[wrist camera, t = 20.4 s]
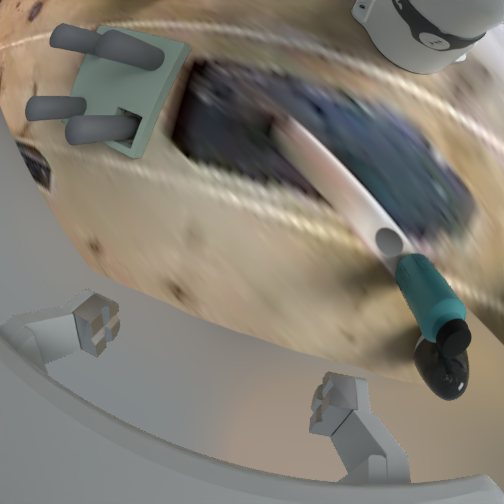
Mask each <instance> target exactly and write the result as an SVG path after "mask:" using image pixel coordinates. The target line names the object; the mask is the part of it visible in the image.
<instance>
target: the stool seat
mask: <svg viewBox="0 0 504 504" xmlns="http://www.w3.org/2000/svg"><path fill="white" fill-rule="evenodd" d="M50 46H51V47H53V48H60V49H65V50H71V51H76V52H81V53H85V54H86V55H85V57H84V60H83V62H82V64H81V67H80V69H79V72H78V74H77V77H76V80H75V82H74V85H73V88H72V91H71V93H70V96H69V97H67V96H33V97H31V98H30V99H29V101H28V102H27V105H26V110H25V115H26V118H27V120H28V121H39V120H51V119H62V122H63V123H65V124H67V122H68V121H69V119H70V118H71V117H73V116H76V115H120V116H124V113H125V110H128V111H130V112H132V113H135V114H137V115H139V116H142V117H143V118H142V120H141V123H140V125H139V128H138V130H137V133H136V136H135V138H134V141H133V144H132V145H131V144H129V143H127V142H125V141H123V140H114V141H104V142H102V143H104V144H106V145H108V146H110V147H112V148H114V149H116V150H117V151H119V152H121V153H123V154H125V155H127V156H129V157H131V158H133V159H135V158H141V157H142V155H143V153H144V150H145V147H146V145H147V142H148V140H149V137H150V135H151V132H152V130H153V127H154V125H155V123H156V120H157V118H158V116H159V113H160V111H161V109H162V107H163V104H164V102H165V100H166V98H167V96H168V93H169V91H170V89H171V87H172V85H173V83H174V81H175V79H176V77H177V75H178V73H179V71H180V69H181V67H182V65H183V63H184V61H185V59H186V58H187V56H188V54H189V52H190V50H191V48H192V47H190V46H189V45H187V44H186V43H183V42H179V41H175V40H172V39H168V38H164V37H160V36H156V35H152V34H147V33H143V32H138V31H133V30H128V29H122V28H116V27H110V26H103V25H100V26H99V28H98V30H97V32H92V31H89V30H86V29H82V28H79V27H75V26H72V25H68V24H64V23H62V24H60V25H58V26H57V27H56V28H55V29H54V31H53V33H52V35H51V37H50Z"/></svg>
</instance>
